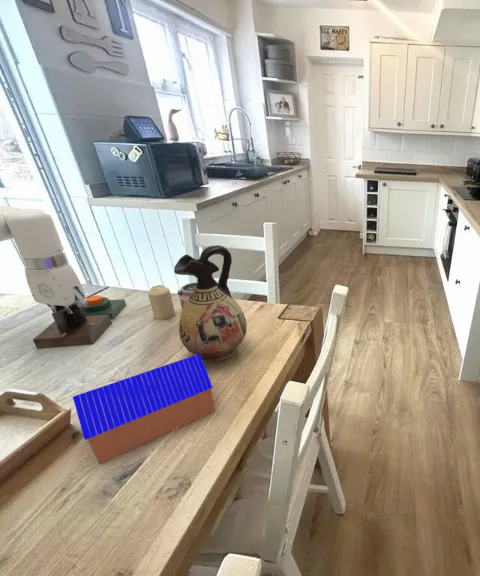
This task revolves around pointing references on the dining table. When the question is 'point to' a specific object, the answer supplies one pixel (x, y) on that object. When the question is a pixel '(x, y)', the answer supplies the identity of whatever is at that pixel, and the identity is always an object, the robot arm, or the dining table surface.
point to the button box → (105, 308)
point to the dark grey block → (65, 319)
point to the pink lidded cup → (186, 293)
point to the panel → (74, 333)
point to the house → (144, 406)
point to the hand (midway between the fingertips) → (72, 323)
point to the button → (94, 300)
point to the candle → (161, 302)
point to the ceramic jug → (210, 309)
